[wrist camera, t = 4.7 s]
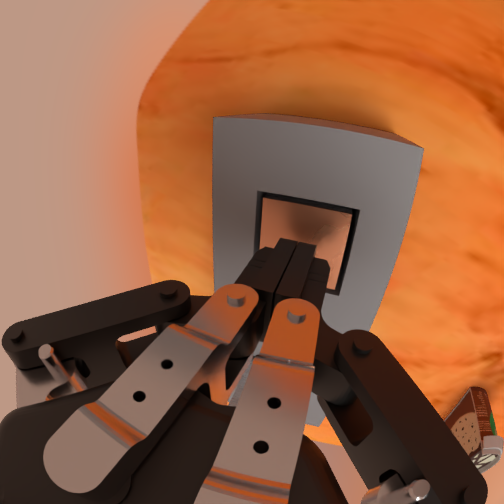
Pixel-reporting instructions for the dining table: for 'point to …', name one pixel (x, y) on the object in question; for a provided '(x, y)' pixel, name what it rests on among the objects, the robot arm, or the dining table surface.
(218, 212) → the guide block
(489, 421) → the half cake
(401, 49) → the dining table surface
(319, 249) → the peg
